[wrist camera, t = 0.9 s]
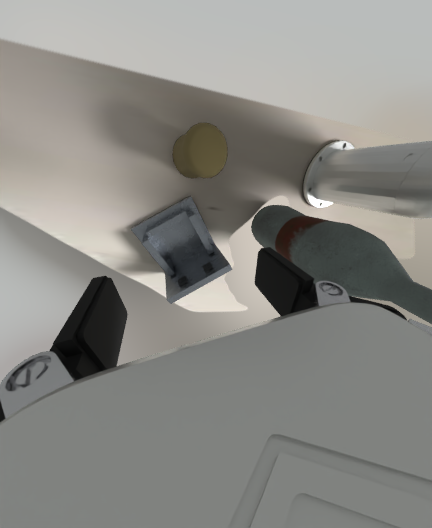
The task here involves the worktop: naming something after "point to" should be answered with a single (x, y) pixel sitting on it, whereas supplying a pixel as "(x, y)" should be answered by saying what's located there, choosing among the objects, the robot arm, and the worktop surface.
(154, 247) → the clip bracket
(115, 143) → the worktop surface
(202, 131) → the cork
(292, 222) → the bottle
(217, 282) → the worktop surface
